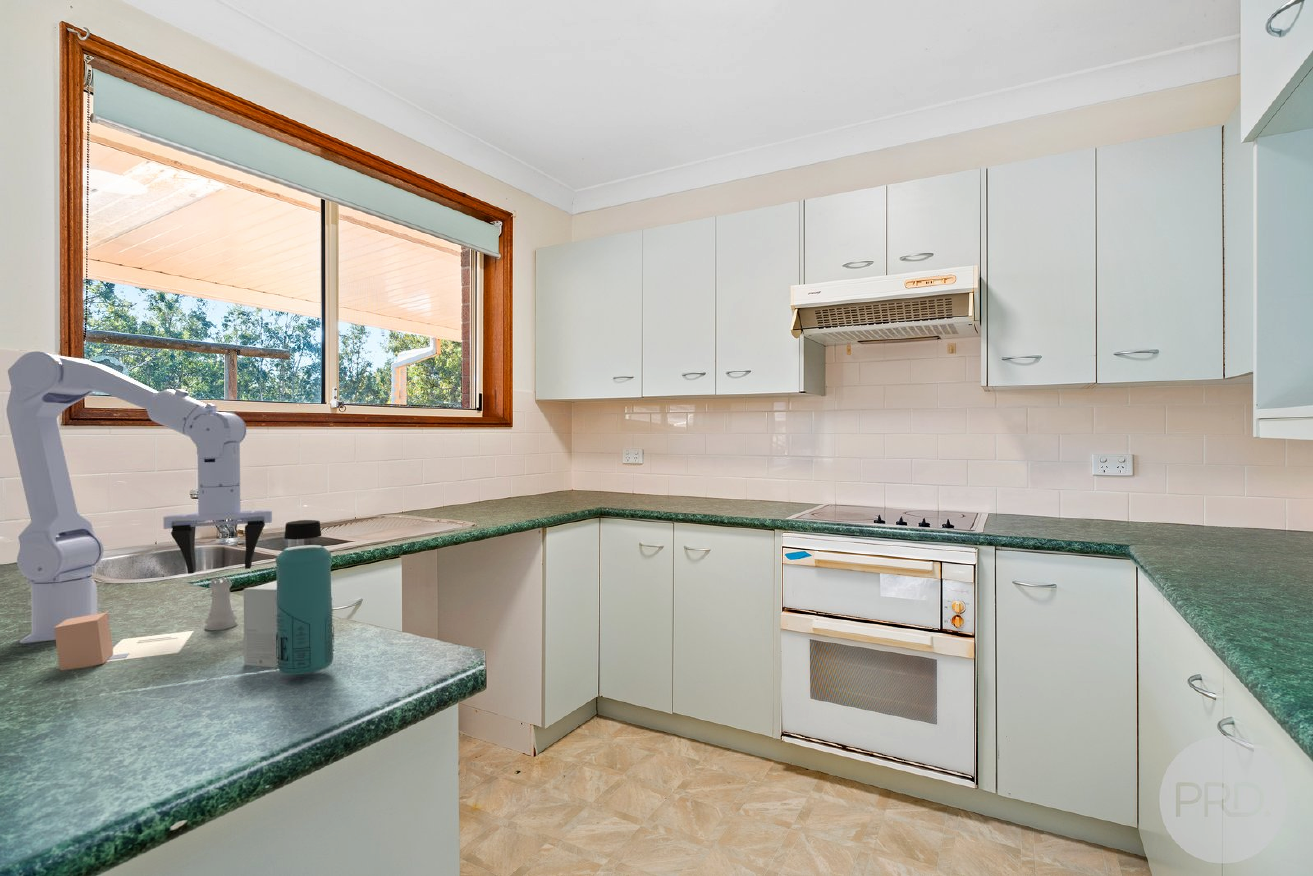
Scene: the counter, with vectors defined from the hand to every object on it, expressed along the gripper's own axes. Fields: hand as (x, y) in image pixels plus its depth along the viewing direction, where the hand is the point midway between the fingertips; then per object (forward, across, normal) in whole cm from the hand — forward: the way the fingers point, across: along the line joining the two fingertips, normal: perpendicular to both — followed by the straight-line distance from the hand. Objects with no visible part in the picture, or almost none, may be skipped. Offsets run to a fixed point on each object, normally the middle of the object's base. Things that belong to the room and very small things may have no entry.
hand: (220, 570), depth 107 cm
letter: (+9, +8, +7) cm, 14 cm away
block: (+9, +14, +12) cm, 20 cm away
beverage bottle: (+10, -13, +32) cm, 36 cm away
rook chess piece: (+10, 0, 0) cm, 10 cm away
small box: (+10, -10, +22) cm, 26 cm away
